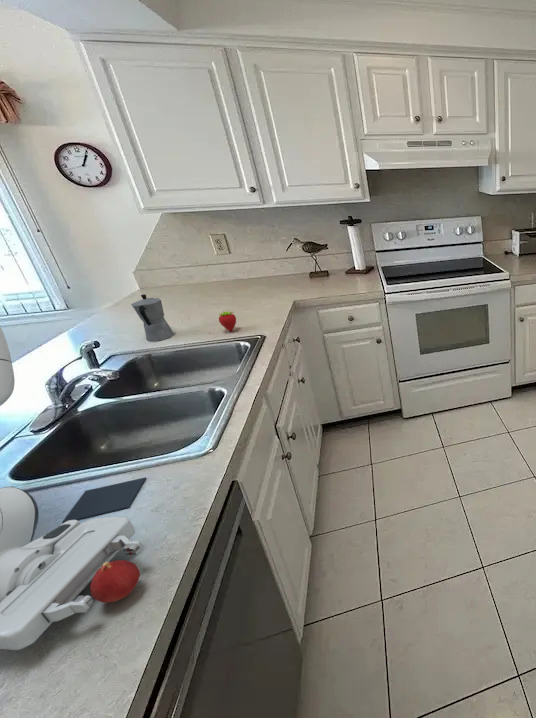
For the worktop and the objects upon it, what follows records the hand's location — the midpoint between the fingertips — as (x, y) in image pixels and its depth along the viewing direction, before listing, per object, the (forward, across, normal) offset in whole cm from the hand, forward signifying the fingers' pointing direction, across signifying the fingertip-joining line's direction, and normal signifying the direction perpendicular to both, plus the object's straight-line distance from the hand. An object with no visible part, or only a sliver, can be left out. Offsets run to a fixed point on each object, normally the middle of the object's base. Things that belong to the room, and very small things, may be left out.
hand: (115, 574), depth 66 cm
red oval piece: (0, 0, +5) cm, 5 cm away
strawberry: (-48, +111, +6) cm, 121 cm away
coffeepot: (-74, +107, +5) cm, 130 cm away
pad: (-22, +21, +5) cm, 30 cm away
